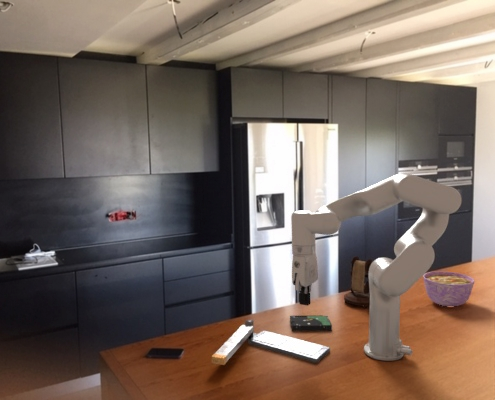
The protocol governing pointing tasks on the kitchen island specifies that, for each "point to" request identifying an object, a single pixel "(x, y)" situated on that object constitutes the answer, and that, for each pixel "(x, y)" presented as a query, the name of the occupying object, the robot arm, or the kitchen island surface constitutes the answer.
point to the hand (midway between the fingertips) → (305, 304)
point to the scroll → (359, 283)
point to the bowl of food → (448, 287)
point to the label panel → (289, 346)
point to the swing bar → (233, 343)
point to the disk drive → (310, 323)
